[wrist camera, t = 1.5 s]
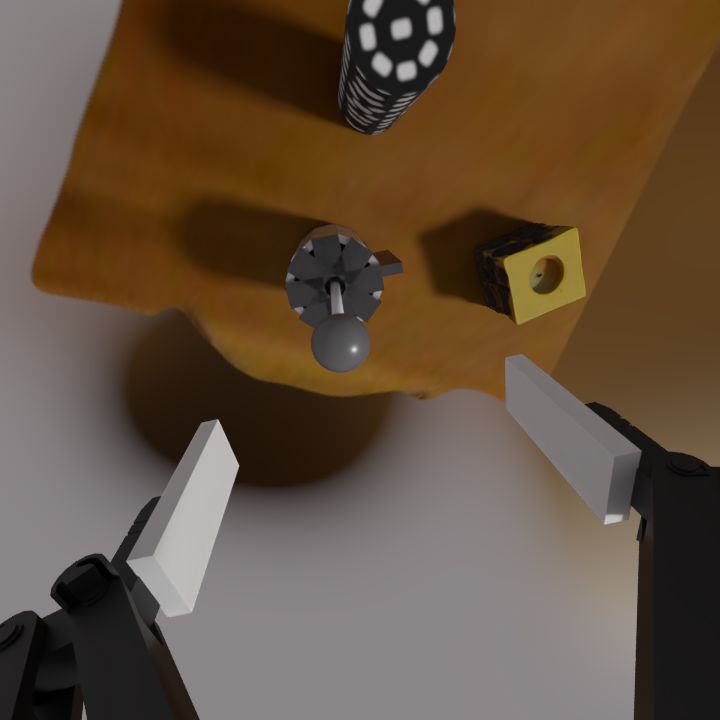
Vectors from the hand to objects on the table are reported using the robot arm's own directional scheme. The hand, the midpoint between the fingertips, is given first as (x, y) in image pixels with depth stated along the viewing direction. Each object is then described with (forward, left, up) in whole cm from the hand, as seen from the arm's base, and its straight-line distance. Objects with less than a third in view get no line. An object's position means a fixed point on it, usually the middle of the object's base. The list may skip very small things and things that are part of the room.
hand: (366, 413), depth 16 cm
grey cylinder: (0, +1, -41) cm, 41 cm away
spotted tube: (-19, +8, -41) cm, 46 cm away
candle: (+6, +26, -41) cm, 49 cm away
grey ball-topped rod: (0, -1, -31) cm, 31 cm away
